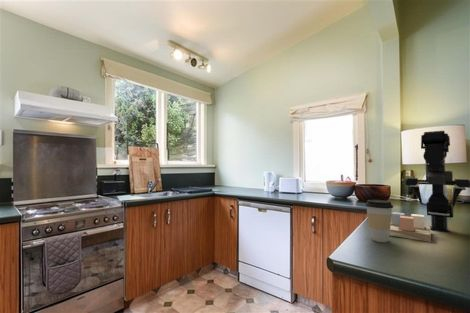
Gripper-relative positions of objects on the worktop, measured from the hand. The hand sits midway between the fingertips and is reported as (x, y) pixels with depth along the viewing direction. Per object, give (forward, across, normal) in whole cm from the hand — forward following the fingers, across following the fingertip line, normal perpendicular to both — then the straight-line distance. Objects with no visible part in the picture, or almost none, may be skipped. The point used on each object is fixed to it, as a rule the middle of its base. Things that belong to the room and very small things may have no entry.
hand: (436, 205), depth 91 cm
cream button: (+12, -6, +12) cm, 17 cm away
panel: (+14, -10, +8) cm, 19 cm away
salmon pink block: (+11, -10, +4) cm, 15 cm away
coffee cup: (+14, -18, -10) cm, 25 cm away
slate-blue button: (+12, -13, +12) cm, 21 cm away
